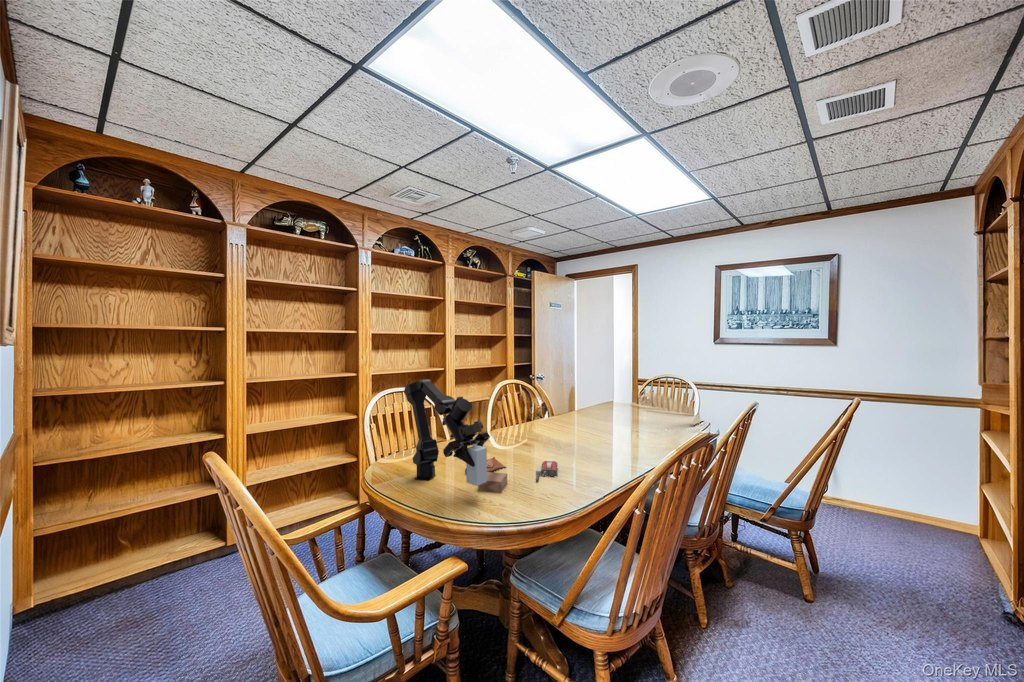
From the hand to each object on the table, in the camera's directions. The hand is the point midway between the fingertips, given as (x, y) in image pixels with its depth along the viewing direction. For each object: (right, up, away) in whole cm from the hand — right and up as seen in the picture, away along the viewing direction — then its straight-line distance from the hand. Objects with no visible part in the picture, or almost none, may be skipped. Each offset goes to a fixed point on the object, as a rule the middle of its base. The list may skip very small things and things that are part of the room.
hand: (479, 464), depth 137 cm
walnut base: (+4, -13, +14) cm, 19 cm away
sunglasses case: (0, -13, +32) cm, 35 cm away
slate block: (-1, -7, +1) cm, 7 cm away
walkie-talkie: (+26, -13, +28) cm, 40 cm away
